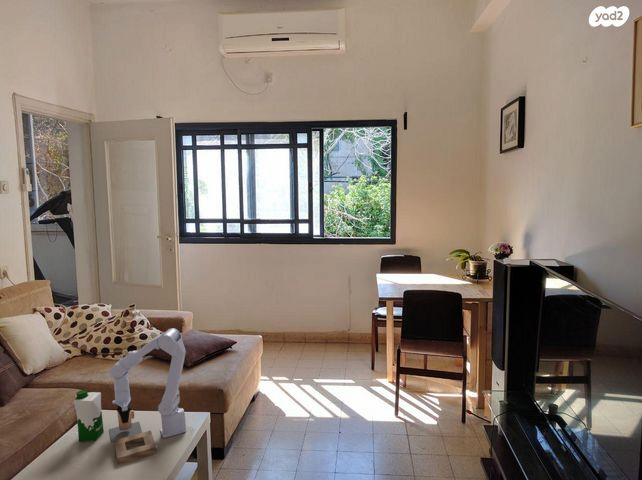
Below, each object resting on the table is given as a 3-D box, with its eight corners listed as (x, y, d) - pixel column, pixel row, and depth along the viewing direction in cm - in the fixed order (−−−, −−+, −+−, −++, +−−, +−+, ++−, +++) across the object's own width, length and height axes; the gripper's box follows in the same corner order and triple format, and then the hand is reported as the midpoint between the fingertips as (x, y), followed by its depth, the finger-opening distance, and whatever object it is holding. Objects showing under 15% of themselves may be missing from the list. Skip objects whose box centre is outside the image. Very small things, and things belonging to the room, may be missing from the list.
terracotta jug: (134, 422, 196) (133, 405, 195) (135, 427, 192) (133, 409, 191) (118, 426, 193) (117, 408, 193) (119, 431, 189) (117, 413, 188)
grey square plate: (139, 422, 201) (139, 421, 201) (142, 434, 190) (142, 434, 190) (109, 429, 195) (109, 429, 195) (111, 443, 185) (111, 442, 185)
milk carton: (86, 431, 194) (81, 387, 192) (107, 430, 194) (102, 386, 192) (75, 443, 186) (70, 397, 183) (96, 442, 186) (92, 396, 183)
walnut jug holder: (151, 435, 189) (150, 430, 189) (156, 452, 177) (156, 446, 177) (114, 446, 182) (114, 440, 182) (118, 464, 170) (117, 458, 170)
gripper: (110, 385, 195) (113, 414, 196) (113, 398, 182) (115, 430, 184) (127, 381, 198) (130, 410, 200) (131, 394, 185) (134, 425, 187)
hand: (124, 419), depth 192 cm, fingers closed on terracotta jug, 5 cm apart
